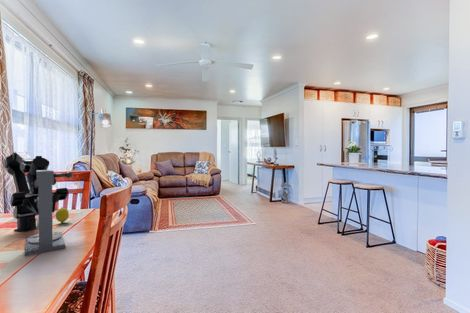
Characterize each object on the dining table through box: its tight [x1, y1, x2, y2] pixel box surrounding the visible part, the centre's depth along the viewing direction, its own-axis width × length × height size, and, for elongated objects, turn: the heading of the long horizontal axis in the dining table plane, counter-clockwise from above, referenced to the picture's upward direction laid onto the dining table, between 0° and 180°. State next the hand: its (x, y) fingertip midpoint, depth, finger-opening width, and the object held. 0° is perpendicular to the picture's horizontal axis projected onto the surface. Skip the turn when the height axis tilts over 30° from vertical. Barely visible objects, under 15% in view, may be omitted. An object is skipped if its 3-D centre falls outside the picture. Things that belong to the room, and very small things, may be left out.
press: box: [24, 169, 73, 257], centre depth 101 cm, size 19×15×30 cm
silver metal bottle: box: [36, 197, 54, 232], centre depth 103 cm, size 5×5×14 cm
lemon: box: [55, 206, 70, 224], centre depth 130 cm, size 6×6×8 cm
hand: (45, 213), depth 102 cm, fingers closed on silver metal bottle, 5 cm apart
